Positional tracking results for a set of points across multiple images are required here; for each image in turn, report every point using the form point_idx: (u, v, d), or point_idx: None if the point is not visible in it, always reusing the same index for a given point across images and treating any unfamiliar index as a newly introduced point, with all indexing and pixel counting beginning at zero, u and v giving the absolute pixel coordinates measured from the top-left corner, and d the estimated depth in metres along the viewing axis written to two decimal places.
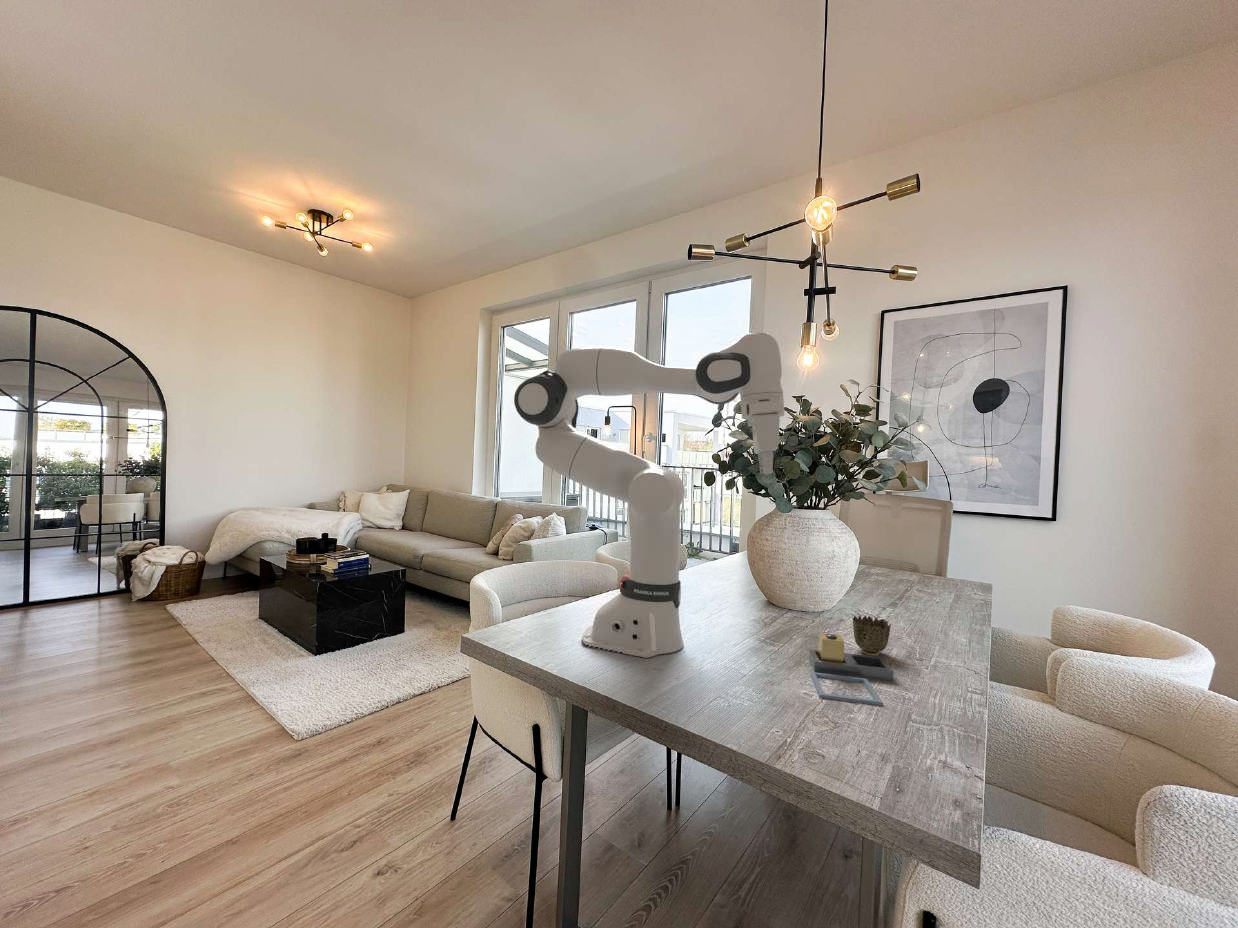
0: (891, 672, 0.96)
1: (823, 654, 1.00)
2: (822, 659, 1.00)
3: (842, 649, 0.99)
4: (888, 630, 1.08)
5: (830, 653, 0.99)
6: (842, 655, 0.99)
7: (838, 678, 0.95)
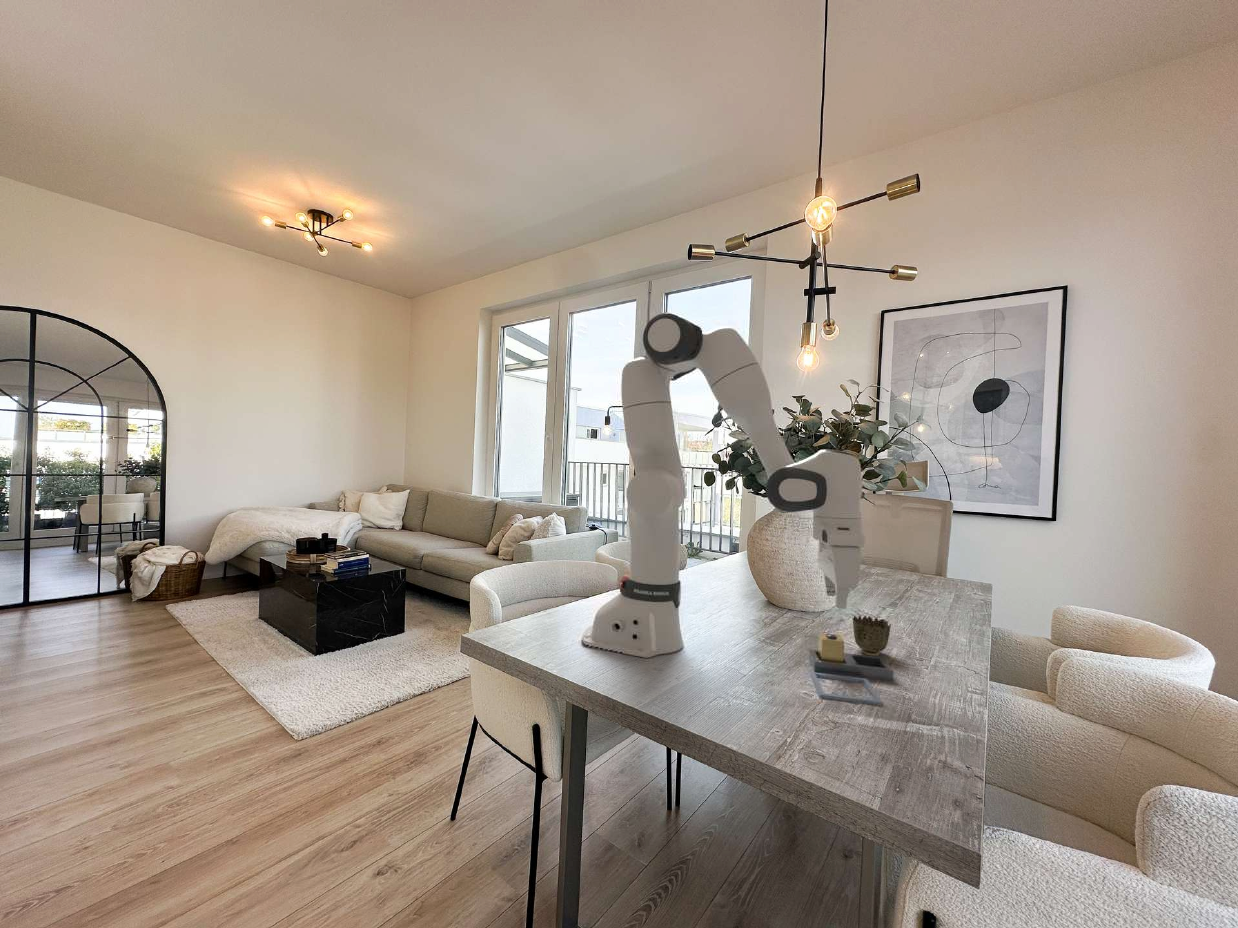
0: (891, 672, 0.96)
1: (823, 654, 1.00)
2: (822, 659, 1.00)
3: (842, 649, 0.99)
4: (888, 630, 1.08)
5: (830, 653, 0.99)
6: (842, 655, 0.99)
7: (838, 678, 0.95)
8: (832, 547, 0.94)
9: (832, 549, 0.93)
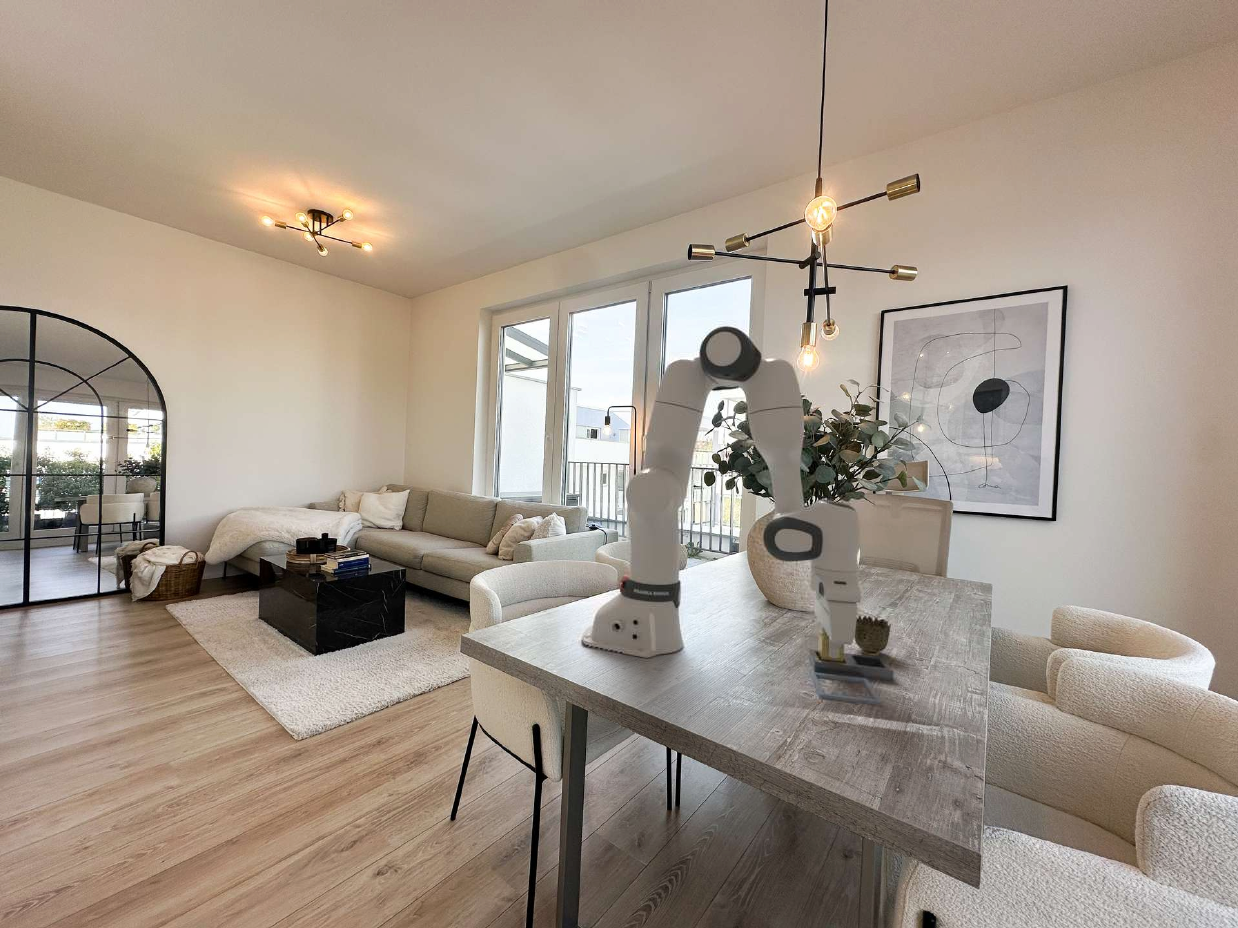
0: (891, 672, 0.96)
1: (823, 654, 1.00)
2: (822, 659, 1.00)
3: (842, 649, 0.99)
4: (888, 630, 1.08)
5: None
6: (842, 655, 0.99)
7: (838, 678, 0.95)
8: (828, 602, 0.94)
9: (828, 604, 0.93)
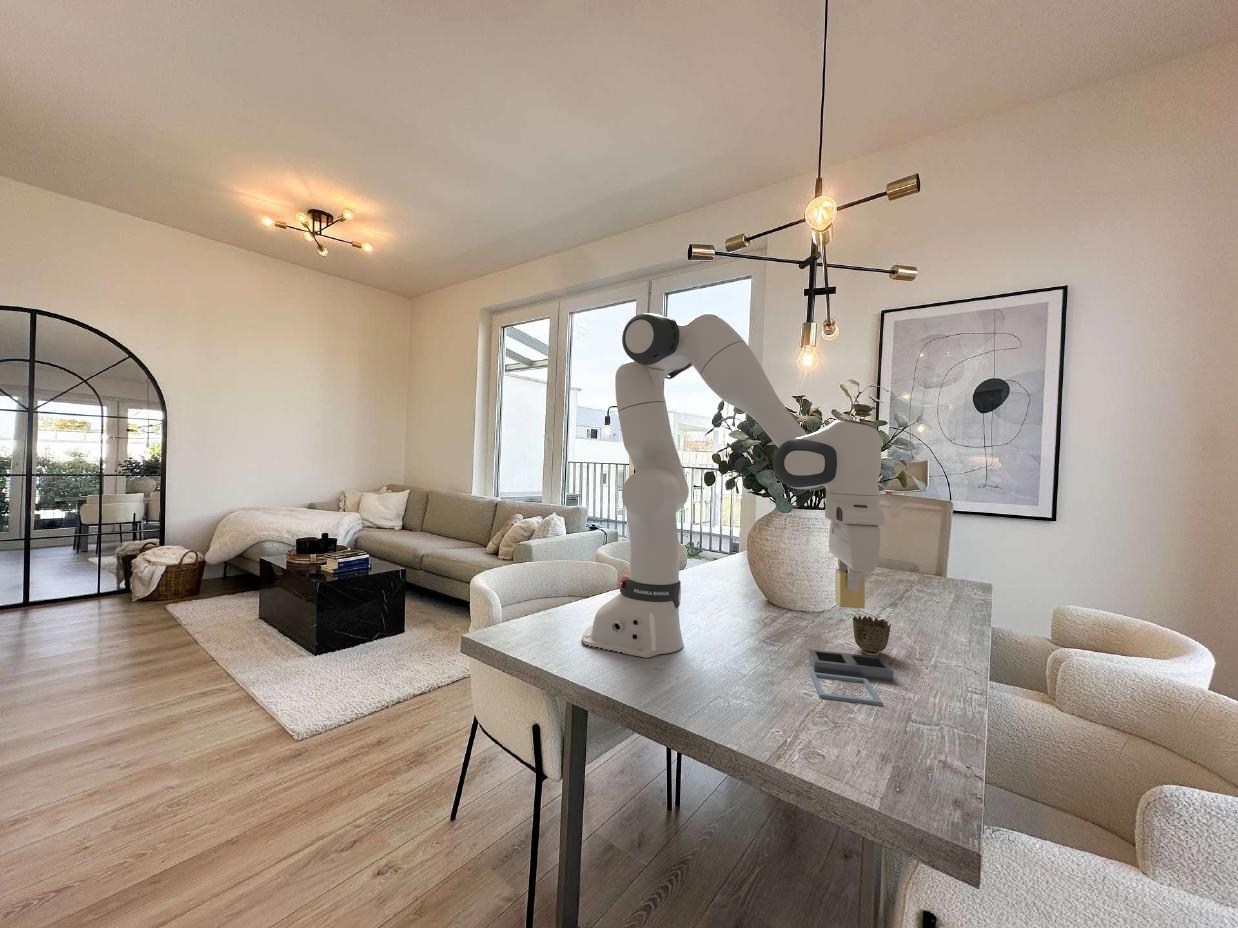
0: (891, 672, 0.96)
1: (842, 589, 0.90)
2: (841, 595, 0.90)
3: (862, 583, 0.89)
4: (888, 630, 1.08)
5: None
6: (863, 589, 0.89)
7: (838, 678, 0.95)
8: (848, 526, 0.84)
9: (848, 528, 0.84)
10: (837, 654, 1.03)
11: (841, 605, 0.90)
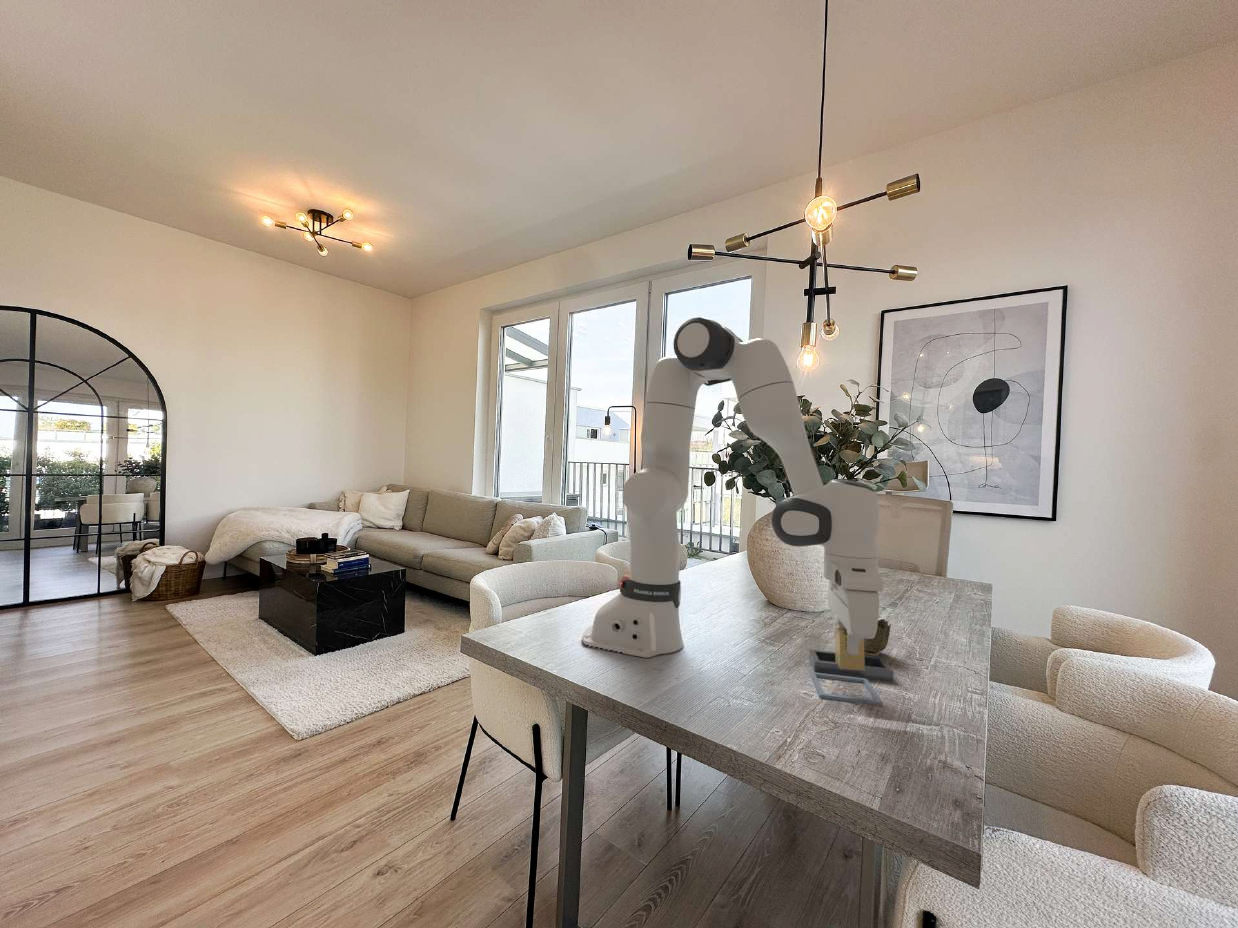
0: (891, 672, 0.96)
1: (841, 651, 0.90)
2: (840, 657, 0.90)
3: (862, 644, 0.89)
4: (888, 630, 1.08)
5: None
6: (863, 651, 0.89)
7: (838, 678, 0.95)
8: (847, 591, 0.84)
9: (847, 594, 0.83)
10: None
11: (841, 667, 0.90)
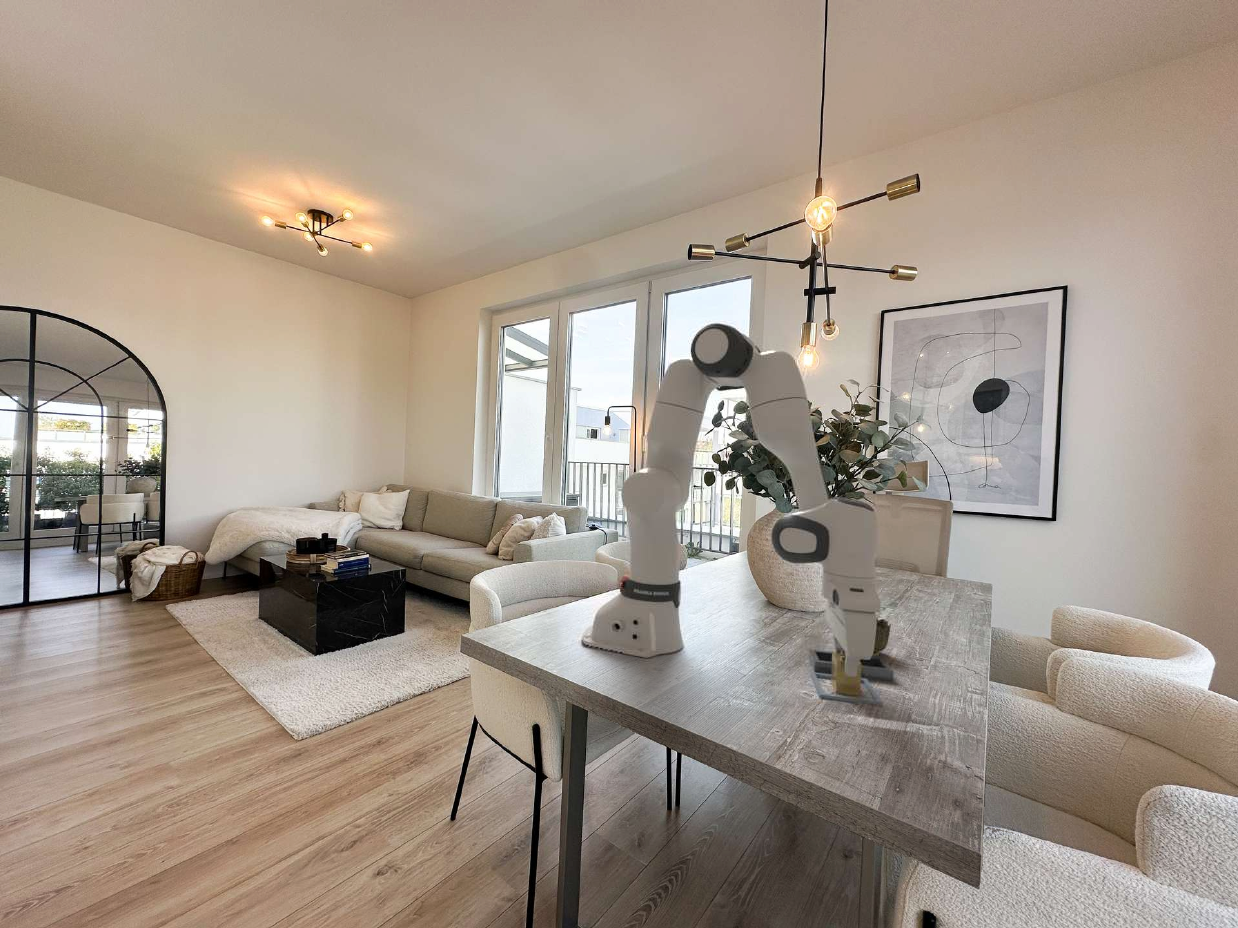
0: (891, 672, 0.96)
1: (838, 677, 0.90)
2: (837, 683, 0.90)
3: (859, 672, 0.89)
4: (888, 630, 1.08)
5: (846, 676, 0.89)
6: (859, 679, 0.89)
7: None
8: (844, 611, 0.84)
9: (844, 614, 0.83)
10: None
11: None
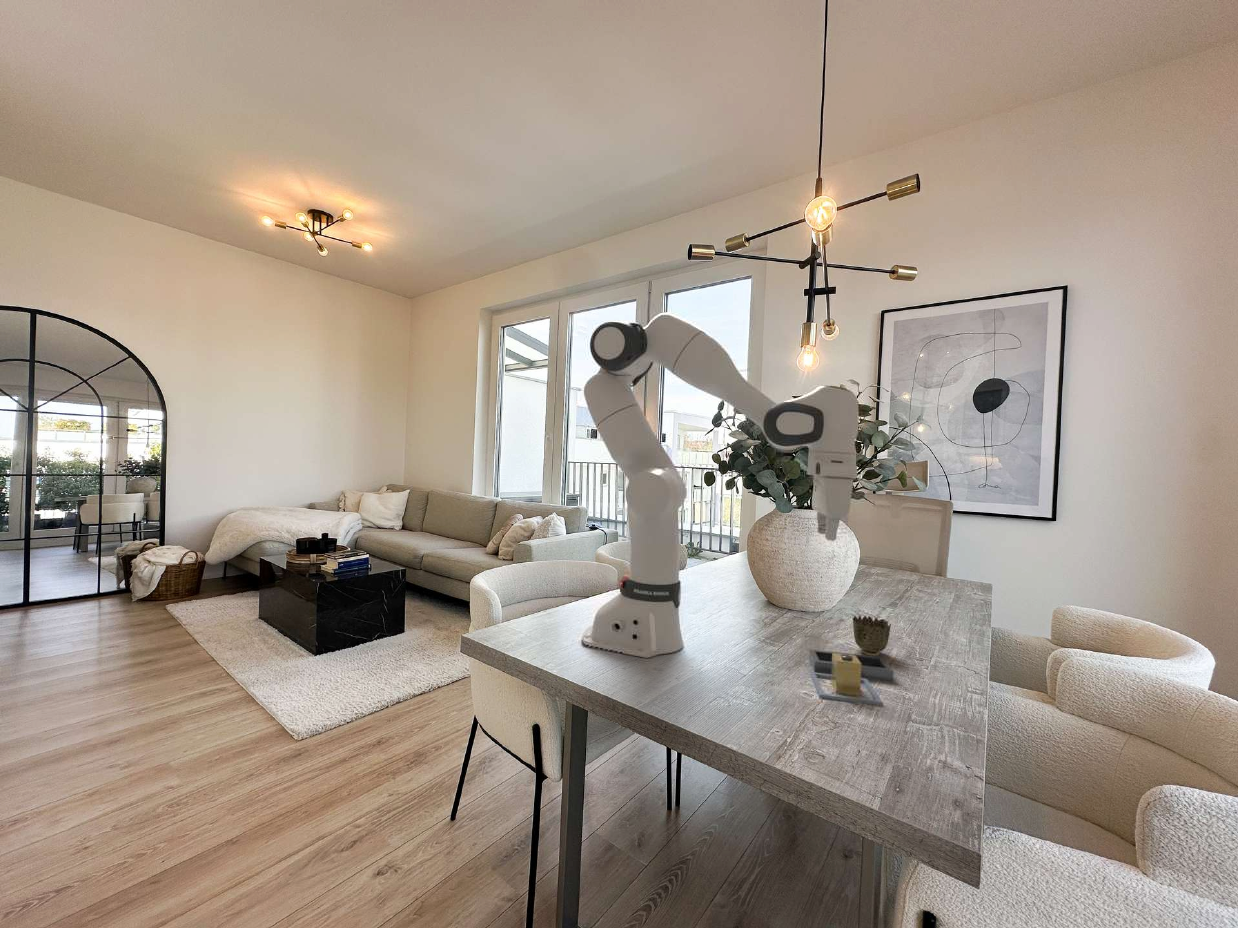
0: (891, 672, 0.96)
1: (838, 677, 0.90)
2: (837, 683, 0.90)
3: (859, 672, 0.89)
4: (888, 630, 1.08)
5: (846, 676, 0.89)
6: (859, 679, 0.89)
7: None
8: (824, 478, 0.95)
9: (824, 480, 0.94)
10: None
11: None
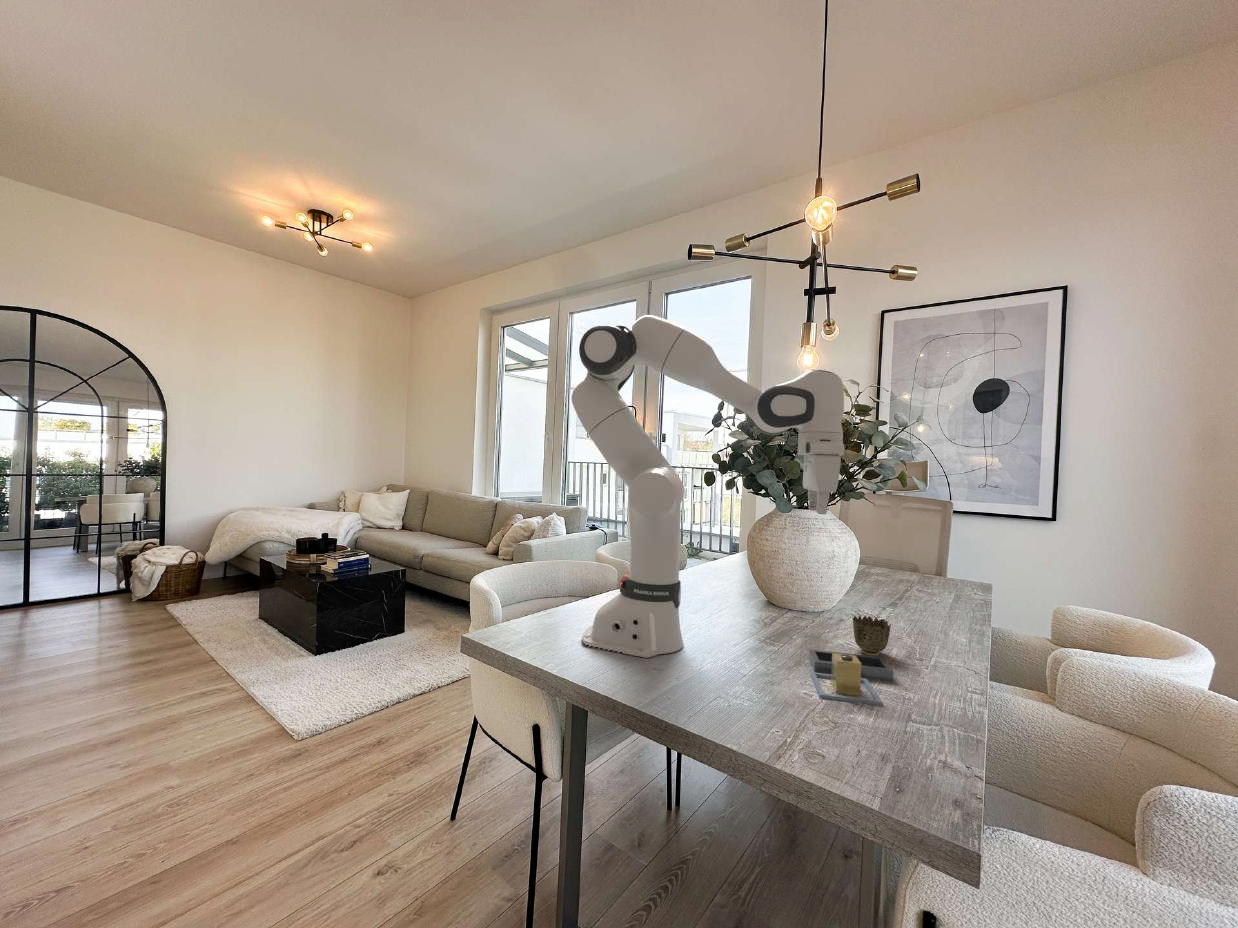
0: (891, 672, 0.96)
1: (838, 677, 0.90)
2: (837, 683, 0.90)
3: (859, 672, 0.89)
4: (888, 630, 1.08)
5: (846, 676, 0.89)
6: (859, 679, 0.89)
7: None
8: (814, 455, 1.01)
9: (814, 457, 1.01)
10: None
11: None
